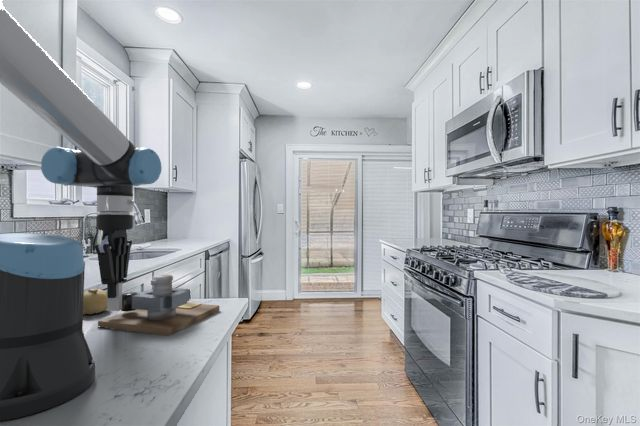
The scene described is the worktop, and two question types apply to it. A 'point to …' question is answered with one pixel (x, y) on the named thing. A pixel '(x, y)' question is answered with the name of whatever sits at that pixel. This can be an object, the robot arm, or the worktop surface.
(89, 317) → the worktop surface
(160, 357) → the worktop surface
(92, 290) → the onion
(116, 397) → the worktop surface
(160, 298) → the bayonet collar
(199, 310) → the base
